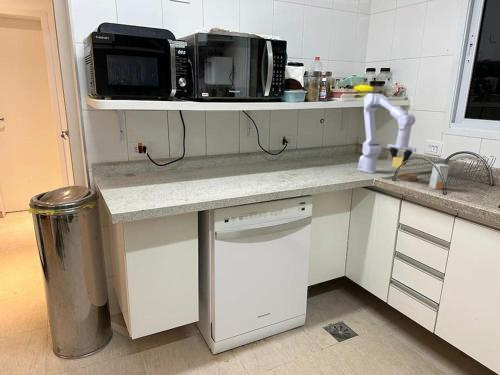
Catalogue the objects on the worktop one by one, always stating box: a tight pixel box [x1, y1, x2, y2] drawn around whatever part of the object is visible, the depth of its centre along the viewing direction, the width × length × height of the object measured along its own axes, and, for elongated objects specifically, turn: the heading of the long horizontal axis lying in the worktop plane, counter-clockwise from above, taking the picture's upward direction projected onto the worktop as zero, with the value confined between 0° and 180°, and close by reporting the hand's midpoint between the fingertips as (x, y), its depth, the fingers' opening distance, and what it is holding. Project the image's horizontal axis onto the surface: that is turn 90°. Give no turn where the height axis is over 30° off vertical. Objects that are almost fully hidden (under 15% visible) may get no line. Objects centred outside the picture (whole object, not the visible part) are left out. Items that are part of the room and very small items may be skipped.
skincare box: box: [428, 163, 450, 190], centre depth 172 cm, size 6×4×12 cm
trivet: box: [393, 171, 419, 182], centre depth 190 cm, size 9×9×2 cm
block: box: [391, 156, 406, 169], centre depth 183 cm, size 5×5×5 cm
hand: (398, 163), depth 183 cm, fingers closed on block, 5 cm apart
